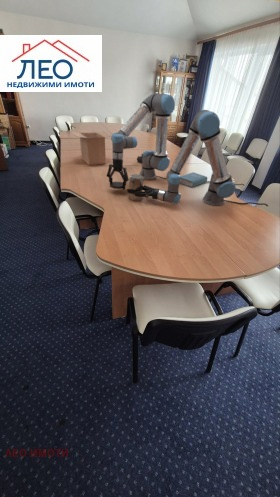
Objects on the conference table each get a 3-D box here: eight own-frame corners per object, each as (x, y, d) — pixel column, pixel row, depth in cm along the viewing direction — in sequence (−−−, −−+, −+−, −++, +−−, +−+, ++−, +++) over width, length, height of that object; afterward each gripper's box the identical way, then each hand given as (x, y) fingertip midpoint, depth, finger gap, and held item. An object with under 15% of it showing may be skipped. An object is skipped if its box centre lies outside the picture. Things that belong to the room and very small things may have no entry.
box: (116, 165, 229) (116, 136, 213) (83, 168, 214) (80, 137, 198) (102, 154, 259) (101, 128, 243) (71, 156, 244) (68, 129, 228)
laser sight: (156, 165, 238) (157, 155, 232) (135, 163, 241) (136, 153, 235) (157, 163, 245) (158, 153, 240) (137, 160, 248) (138, 151, 242)
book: (192, 177, 213) (193, 172, 210) (206, 182, 204) (207, 177, 201) (177, 182, 200) (178, 176, 197) (192, 187, 191) (193, 182, 188)
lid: (127, 186, 173) (127, 183, 172) (118, 190, 165) (118, 187, 164) (116, 182, 177) (116, 180, 176) (107, 186, 169) (107, 184, 168)
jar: (126, 197, 166) (126, 176, 156) (135, 194, 172) (136, 173, 162) (135, 201, 161) (136, 179, 151) (144, 198, 167) (146, 176, 157)
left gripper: (101, 156, 160) (102, 185, 173) (129, 162, 152) (128, 192, 165) (107, 154, 165) (107, 183, 178) (134, 160, 158) (132, 189, 171)
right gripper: (152, 205, 151) (123, 198, 158) (163, 194, 168) (136, 188, 175) (153, 195, 147) (123, 188, 153) (164, 184, 164) (136, 179, 170)
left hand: (117, 187), depth 172 cm, fingers closed on lid, 11 cm apart
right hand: (130, 188), depth 164 cm, fingers closed on jar, 10 cm apart
